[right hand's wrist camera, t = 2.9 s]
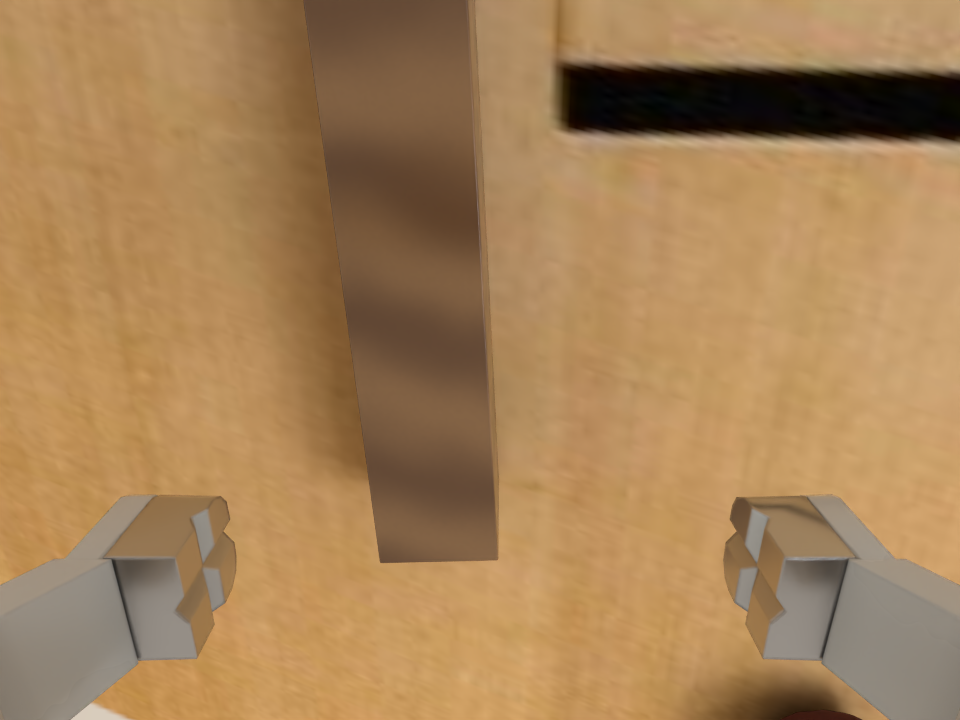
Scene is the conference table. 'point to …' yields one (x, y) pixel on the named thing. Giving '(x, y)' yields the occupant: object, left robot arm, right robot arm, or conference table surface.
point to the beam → (413, 264)
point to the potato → (820, 716)
